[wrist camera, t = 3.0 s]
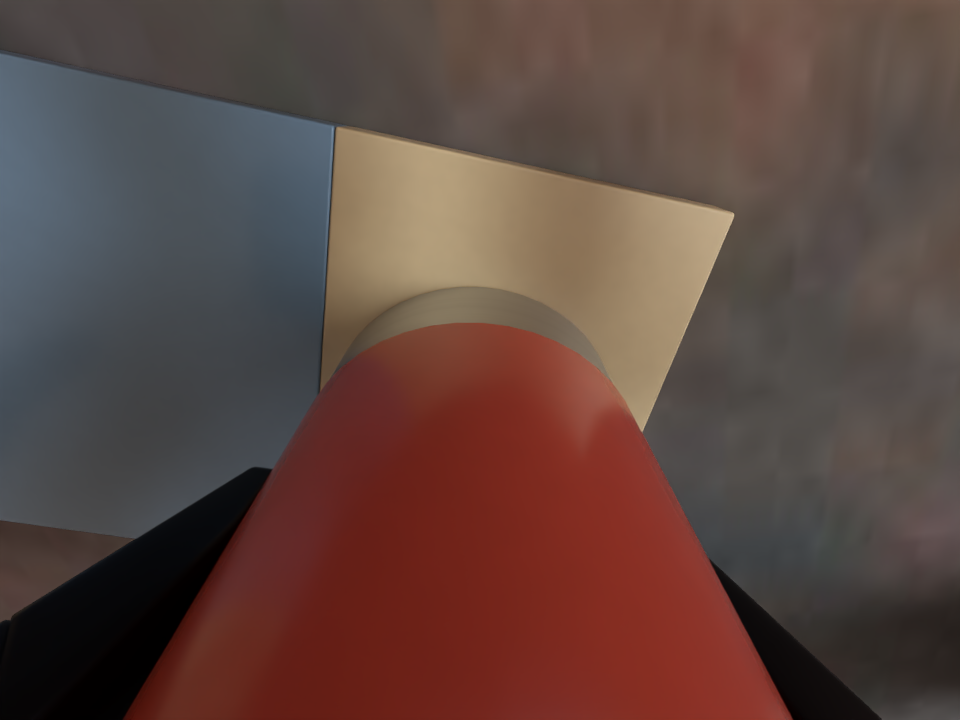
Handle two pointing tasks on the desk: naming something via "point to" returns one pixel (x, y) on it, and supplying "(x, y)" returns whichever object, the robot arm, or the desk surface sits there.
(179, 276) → the board
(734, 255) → the desk surface
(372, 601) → the tin can
